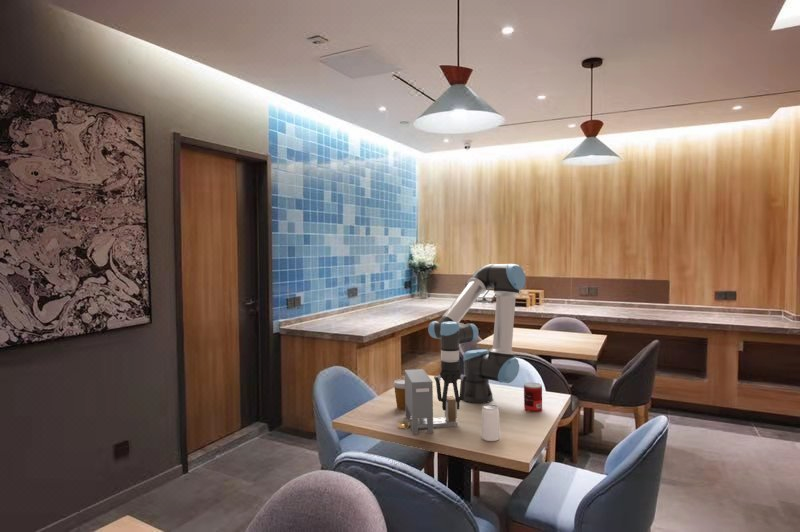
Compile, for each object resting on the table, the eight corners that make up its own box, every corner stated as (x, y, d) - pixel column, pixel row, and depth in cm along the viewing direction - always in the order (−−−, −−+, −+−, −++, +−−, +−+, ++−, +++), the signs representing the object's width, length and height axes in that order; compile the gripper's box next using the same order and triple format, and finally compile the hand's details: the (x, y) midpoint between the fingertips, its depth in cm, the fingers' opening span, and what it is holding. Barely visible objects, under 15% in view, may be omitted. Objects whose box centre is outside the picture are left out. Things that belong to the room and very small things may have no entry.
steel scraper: (453, 420, 200) (453, 395, 200) (457, 426, 193) (457, 400, 193) (408, 422, 198) (407, 397, 198) (410, 428, 191) (410, 402, 191)
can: (479, 435, 183) (479, 404, 182) (496, 435, 183) (496, 403, 183) (484, 442, 176) (483, 409, 176) (501, 441, 177) (501, 408, 177)
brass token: (404, 424, 197) (404, 421, 197) (412, 427, 194) (412, 424, 194) (394, 427, 194) (394, 424, 194) (402, 430, 190) (402, 427, 190)
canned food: (542, 407, 216) (542, 382, 215) (541, 412, 208) (541, 387, 208) (525, 405, 218) (524, 381, 218) (523, 411, 211) (523, 386, 210)
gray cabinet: (423, 415, 207) (423, 369, 207) (433, 433, 185) (432, 382, 185) (405, 416, 206) (404, 369, 206) (413, 435, 184) (412, 383, 184)
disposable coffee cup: (412, 411, 213) (412, 384, 212) (391, 410, 214) (391, 383, 214) (416, 405, 222) (415, 379, 222) (395, 404, 224) (395, 378, 224)
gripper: (467, 357, 201) (467, 413, 201) (428, 359, 198) (429, 415, 199) (471, 361, 193) (472, 419, 193) (432, 363, 191) (433, 421, 191)
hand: (451, 417), depth 196 cm, fingers closed on steel scraper, 3 cm apart
